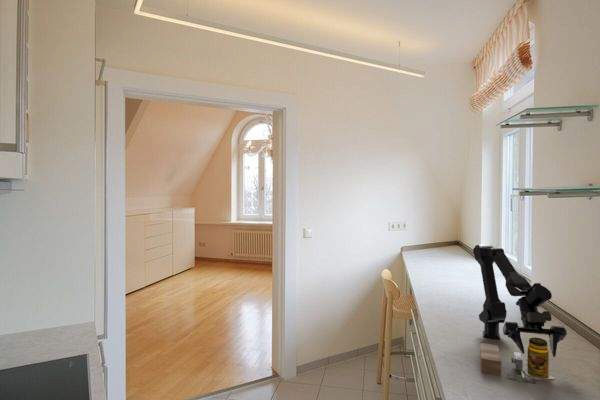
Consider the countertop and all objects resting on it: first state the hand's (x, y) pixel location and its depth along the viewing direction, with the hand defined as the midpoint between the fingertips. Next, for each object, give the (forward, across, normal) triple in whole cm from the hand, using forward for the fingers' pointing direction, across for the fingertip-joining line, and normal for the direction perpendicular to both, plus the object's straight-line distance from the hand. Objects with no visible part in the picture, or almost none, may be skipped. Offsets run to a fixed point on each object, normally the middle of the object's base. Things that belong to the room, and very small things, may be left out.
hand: (538, 354), depth 126 cm
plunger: (+4, -7, +5) cm, 9 cm away
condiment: (+4, 0, +6) cm, 8 cm away
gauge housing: (+3, -9, +7) cm, 12 cm away
